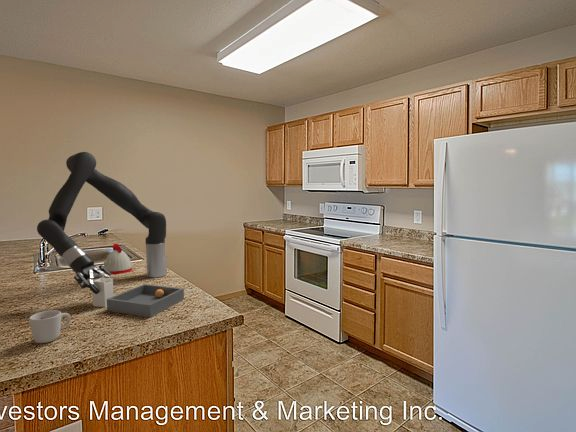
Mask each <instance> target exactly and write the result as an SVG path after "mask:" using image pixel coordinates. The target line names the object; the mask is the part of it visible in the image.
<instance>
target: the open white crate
mask: <svg viewBox="0 0 576 432" xmlns="http://www.w3.org/2000/svg"><path fill="white" fill-rule="evenodd" d="M113 282H114V278H113V277H112V278H111V277H109V278H105V277H104V278H99V279H93V284H95V285H96V286H97V287H98V288H99V289H100V292H99V293H98V294H95V293H93V292H92V291H91V293H92V306H93V307H99V308H107V299H108V298H111V297H113V296H115V294H114V286H113Z"/></svg>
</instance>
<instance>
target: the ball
mask: <svg viewBox="0 0 576 432" xmlns="http://www.w3.org/2000/svg"><path fill="white" fill-rule="evenodd" d="M163 295H164V292H163V290H162V289H158V290H156V292H155V296H156V297H159V298H160V297H162V296H163Z"/></svg>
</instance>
